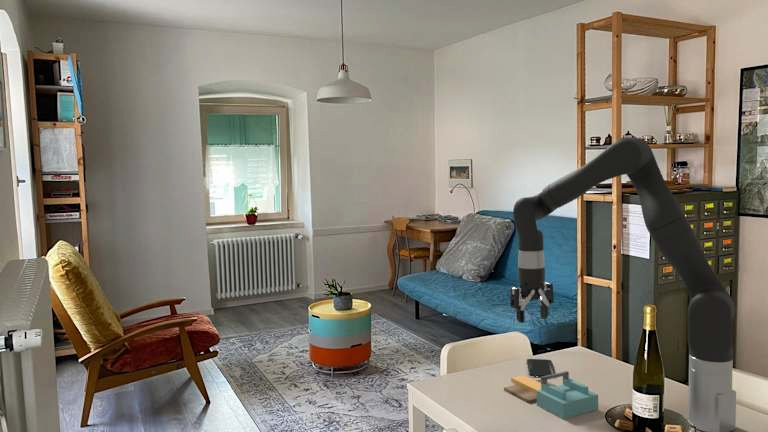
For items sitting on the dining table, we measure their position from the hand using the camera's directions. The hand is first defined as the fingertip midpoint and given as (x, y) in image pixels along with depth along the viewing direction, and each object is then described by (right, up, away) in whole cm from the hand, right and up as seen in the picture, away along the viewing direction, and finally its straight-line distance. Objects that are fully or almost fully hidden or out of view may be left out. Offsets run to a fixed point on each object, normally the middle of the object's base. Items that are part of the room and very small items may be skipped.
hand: (532, 320), depth 172 cm
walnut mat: (0, -20, -5) cm, 20 cm away
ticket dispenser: (+5, -20, -16) cm, 26 cm away
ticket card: (-1, -19, -3) cm, 19 cm away
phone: (+6, -19, +15) cm, 24 cm away
